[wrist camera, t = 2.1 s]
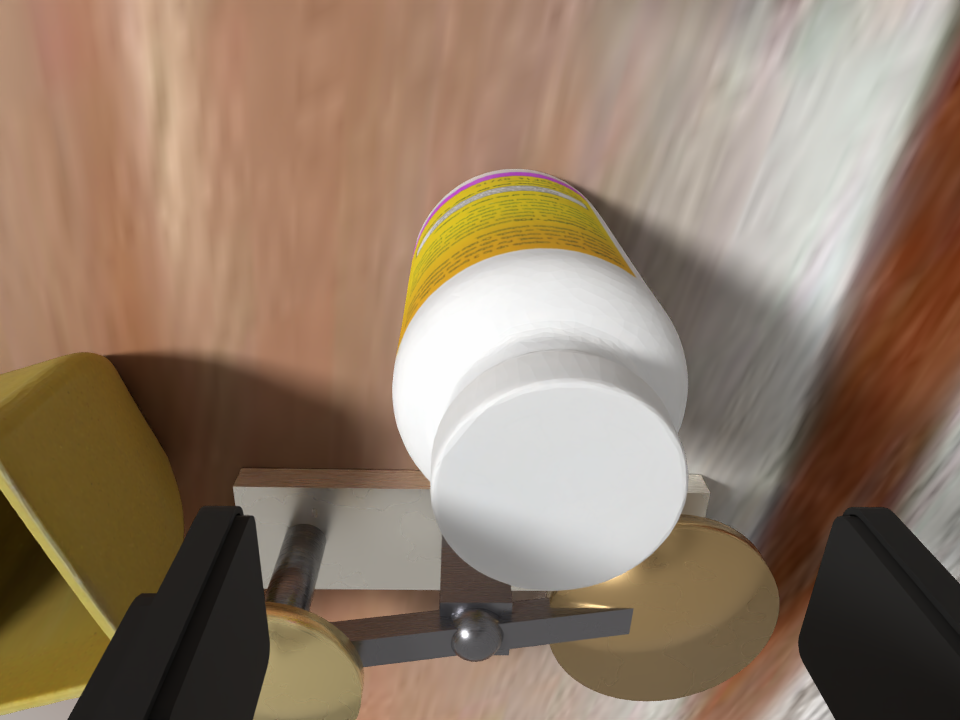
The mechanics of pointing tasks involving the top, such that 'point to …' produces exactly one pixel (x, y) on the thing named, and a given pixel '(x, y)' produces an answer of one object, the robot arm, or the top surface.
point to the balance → (486, 597)
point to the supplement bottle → (539, 386)
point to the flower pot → (75, 523)
